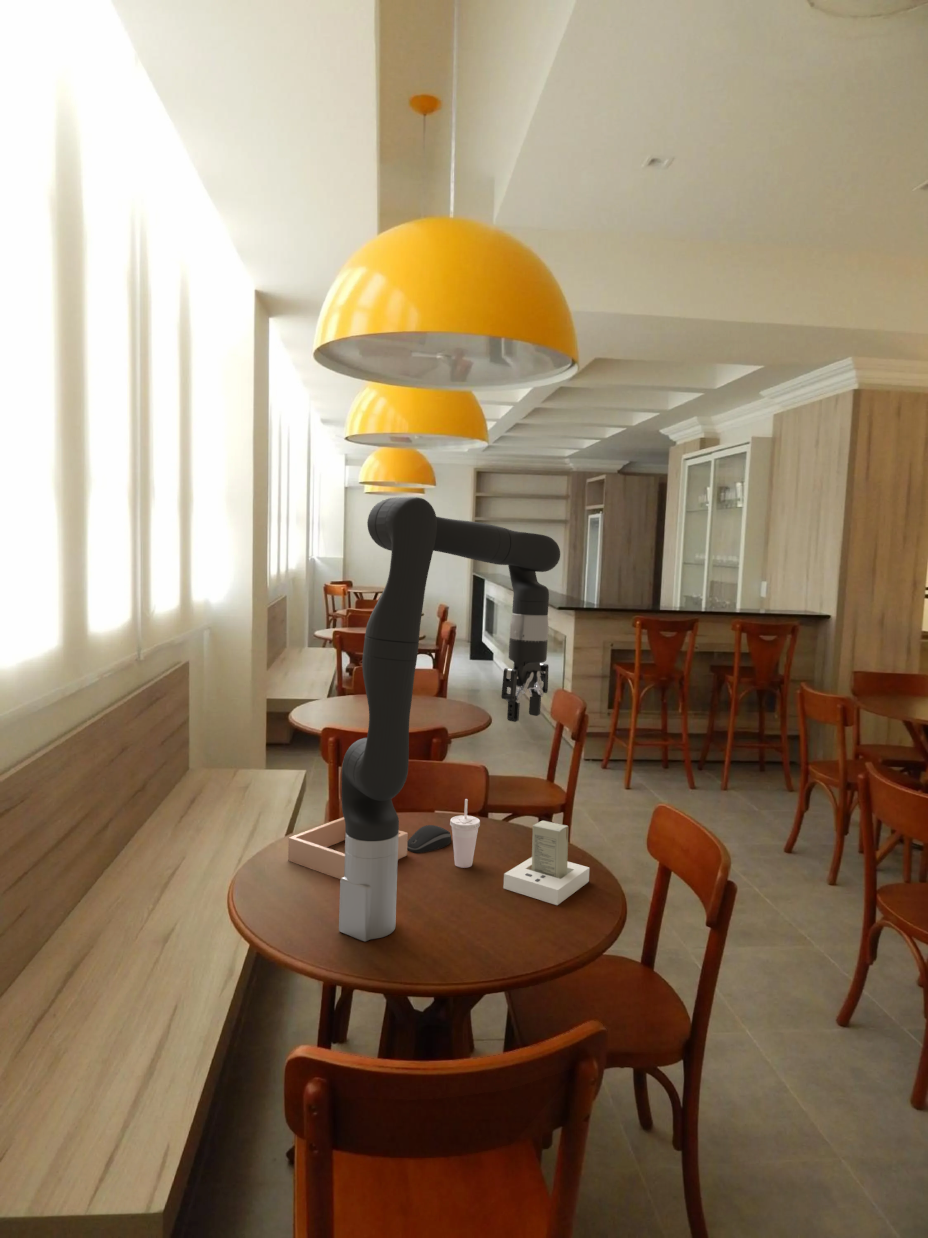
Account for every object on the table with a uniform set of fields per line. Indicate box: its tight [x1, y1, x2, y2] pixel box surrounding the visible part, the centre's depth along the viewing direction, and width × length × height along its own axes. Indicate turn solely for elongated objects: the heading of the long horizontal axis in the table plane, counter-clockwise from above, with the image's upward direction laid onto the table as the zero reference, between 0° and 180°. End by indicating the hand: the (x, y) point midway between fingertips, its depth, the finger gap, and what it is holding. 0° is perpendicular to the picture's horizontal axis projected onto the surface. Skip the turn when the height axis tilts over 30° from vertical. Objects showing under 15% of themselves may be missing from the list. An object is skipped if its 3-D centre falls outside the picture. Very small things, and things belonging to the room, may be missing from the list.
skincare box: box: [531, 820, 569, 879], centre depth 160 cm, size 6×4×12 cm
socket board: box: [502, 856, 590, 906], centre depth 160 cm, size 14×12×4 cm
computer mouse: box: [407, 824, 452, 854], centre depth 180 cm, size 7×12×4 cm, turn 138°
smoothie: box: [449, 798, 481, 869], centre depth 168 cm, size 6×6×14 cm
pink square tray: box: [287, 816, 409, 880], centre depth 170 cm, size 18×17×5 cm
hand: (523, 718), depth 157 cm, fingers open, 8 cm apart
